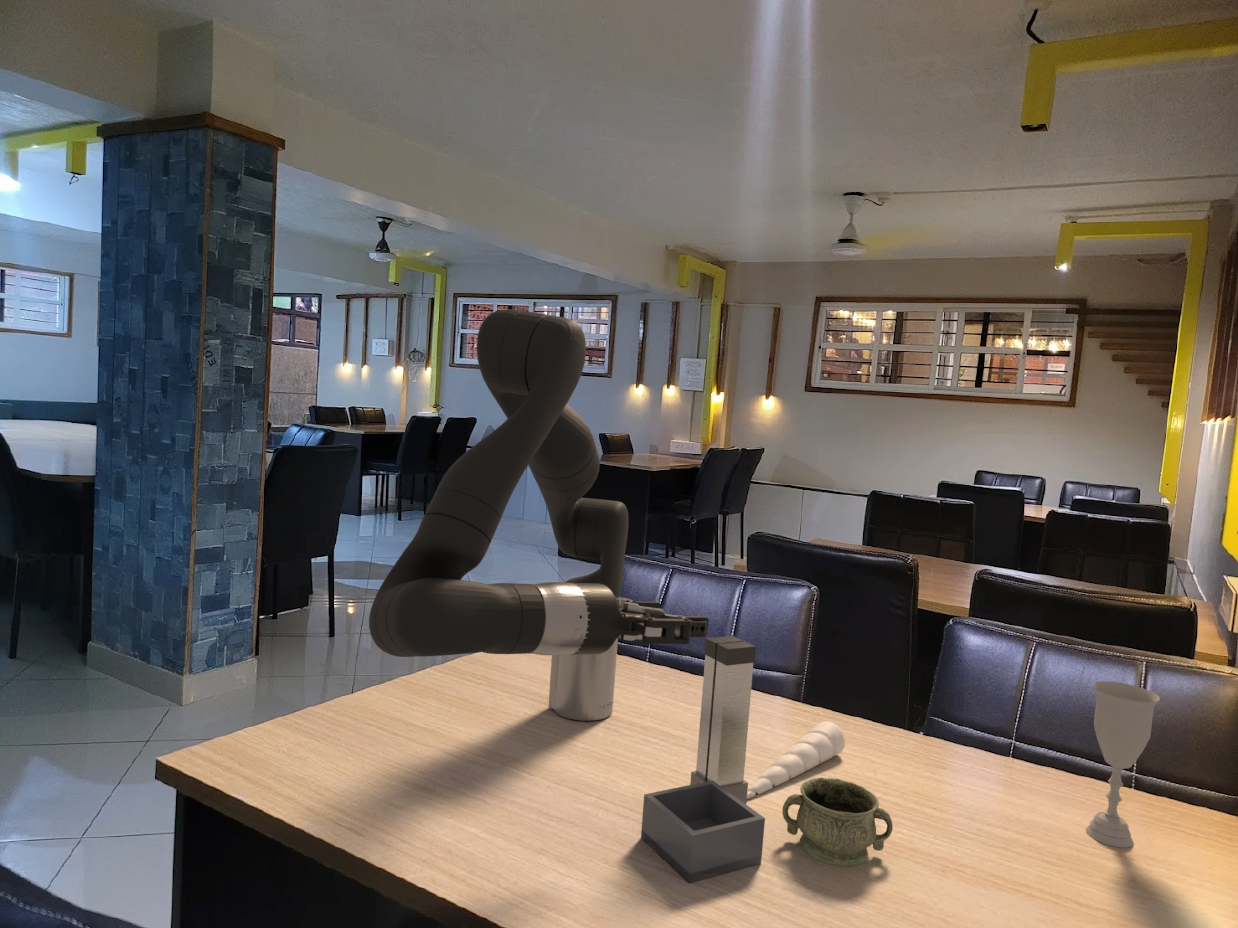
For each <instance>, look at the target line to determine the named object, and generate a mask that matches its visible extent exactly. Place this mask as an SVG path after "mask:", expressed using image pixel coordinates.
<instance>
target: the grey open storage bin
mask: <svg viewBox="0 0 1238 928" xmlns="http://www.w3.org/2000/svg"><path fill="white" fill-rule="evenodd" d="M642 806H643V807H642V817H641V818H642V819H641V821H642V822H641V832H640V838H641V840H642V841H644V842H645V843H646V844H647V845H648V846H649V847H650V848H651V849H652V850H653V851H654V852H655V853H656V854H658V856H660V858H661V859H663V861H665V862H666V863H667V864H668V865H669V866H670V867H671V868H672V869H674V871H676V873H678V874H679V876H680V877H682V878H683V880H685V881H686V882H687V883H688V884H690V883H691V884H692V883H695V882H698V881H702V880H706V879H709V878H713V877H716V876H721V875H724V874H727V873H731V872H734V871H738V870H741V869H747V868H749V867H752V866H756V865H760V864H762V857H763V845H764V833H765V821H766V818H765V817H764V816H763V815H762V814H760V813H759V812H757V811H756V810H754V809H753V808H752V807H750V806H749V805H748V804H747V803H746V804H745V803H743V802H742V801H741V800H739V799H738V798H736V797H735V796H734V795H732V794H731V793H730V792H728V791H727V790H725V789H724V788H723V787H721V786H720V785H718V784H717V783H716V782H714V781H713V780H712V781H707V782H702V783H697V784H693V785H690V784H688V785H683V786H679V787H673V788H669V789H665V790H664V789H663V790H659V791H655V792H654V791H653V792H648V793H644V794H643V805H642Z"/></svg>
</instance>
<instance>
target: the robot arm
mask: <svg viewBox="0 0 1238 928" xmlns="http://www.w3.org/2000/svg"><path fill="white" fill-rule="evenodd" d="M586 345H587V343H586V336H585V332H584V331H583V328H582V327H581V325H580V324H579V323H578V322H577V321H574V320H573V319H570V318H566V317H563V316H558V315H552V314H546V313H545V314H544V313H539V312H533V311H528V310H527V311H526V310H522V309H521V310H520V309H512V308H511V309H508V308H506V309H498V310H495V311H493V312H491V313H489V315H487V316H486V317H485V318H484V320H483V321H482V322H481V325H480V327H479V330H478V332H477V339H476V357H477V363H478V367H479V370H480V373H481V377H482V380H483V381H484V383H485V385H486V387H487V388H488V391H489V392H490V394H491V395H492V397H493V398H494V400H495V401H496V403H497V405H498V406H499V408H500V409H501V411H503V414H504V415H505V417H506V418H507V419H506V420H505V421H504V422H503V423H501V425H500V426H498V427H497V428H495V430H493V431H492V432H491V433H490V434H488V435H487V436H485V437H484V438H483V439H481V440H480V441H478V442H477V443H476V444H474V445H473V446H472V447H471V448H469V449H468V450H467V451H465V452H464V453H463V454H462V455H461V456H460V457H458V458H457V459H456V461H454V463H452V465H451V466H450V467H449V468H448V470H447V471H446V472H445V473H444V475H443V477H442V479H441V480H440V482H439V484H438V486H437V488H436V490H435V492H434V494H433V496H432V498H431V500H430V501H429V502H430V503H429V504H428V507H427V508H426V511H425V512H424V515H423V517H422V519H421V522H420V525H419V527H418V530H417V531H416V533H415V535H414V537H413V538H412V540H411V541H410V542H409V544H407V547H406V548H405V549H404V550H403V552H402V553H401V554H400V556H399V557H398V559H397V561H396V562H395V564H394V565H393V567H392V568H391V569H390V571H389V573H388V574H387V575H386V577H385V579H384V580H383V582H382V584H381V585H380V588H378V591H377V593H376V594H375V597H374V600H373V601H372V605H371V607H370V612H369V618H368V627H369V633H370V635H371V639H372V640H373V642H374V644H375V645H376V646H377V647H378V649H380V650H381V651H382V652H383V653H386V654H388V655H391V656H393V657H401V658H413V657H414V658H415V657H423V658H424V657H425V658H426V657H440V656H442V657H443V656H452V655H466V654H474V653H475V654H476V653H485V654H491V655H492V654H493V655H526V654H530V655H533V654H534V655H538V656H551V664H550V676H549V677H550V679H549V692H548V693H549V694H548V704H547V705H548V709H551V710H553V711H554V712H555V713H556V714H557V715H559V716H561V717H563V718H565V719H570V720H575V721H584V722H585V721H586V722H589V721H599V720H603V719H606V718H608V717H610V716H611V715H612V713H613V709H614V708H613V706H614V701H615V700H614V697H615V696H614V695H615V694H614V693H615V685H616V684H615V683H616V670H617V667H616V666H617V656H618V655H617V654H618V643H619V641H618V640H624V641H635V640H641V642H642V643H643V644H645V645H659V644H660V645H663V644H664V645H678V644H679V645H686V644H687V645H689V644H690V642H691V641H690V640H691V638H706V636H707V635H708V630H709V629H708V628H709V622H710V621H709V618H708V617H706V616H703V615H701V616H700V615H692V616H691V615H682V614H677V615H675V614H669V613H666V612H665V610H663V609H662V604H661V603H660V602H657V601H637V600H636V601H634V600H632V599H631V598H627V597H622V588H623V575H624V565H625V557H626V556H625V554H626V548H627V542H628V533H629V511H628V508H627V506H626V504H625V503H623V502H621V501H619V500H608V499H600V498H599V499H598V498H589V497H583V496H585V495H586V494H587V493H588V492H589V491H590V489H591V488H592V487H593V485H594V484H595V481H596V480H597V478H598V474H599V472H600V456H599V452H598V449H597V446H596V442H595V439H594V435H593V433H592V431H591V428H590V427H589V425H588V424H587V423H586V422H585V419H583V418H582V416H580V415H579V413H578V412H576V410H574V408H572V407H571V406H570V405H568V403H569V401H570V400H571V397H572V395H573V394H574V391H575V390H576V388H577V387H578V383H579V381H580V379H581V376H582V373H583V371H584V366H585V362H586V353H587V346H586ZM528 467H529V470H530V471H531V474H532V476H533V478H534V481H535V482H536V484H537V486H538V488H539V490H540V492H541V495H542V497H543V500H544V503H545V505H546V506H545V507H546V508H547V512H548V515H549V520H550V524H551V527H552V531H553V535H554V537H555V541H556V544H557V546H558V548H559V550H560V551H561V552H562V553H563V554H564V555H567V556H570V557H574V558H581V559H589V560H598V561H599V560H600V566H599V568H598V569H597V570H595V571H592V573H588V574H586V575H583V576H577V577H573V578H570V579H568V580H566V581H563V582H562V581H561V582H559V581H544V582H537V583H517V582H515V583H514V582H513V583H510V582H509V583H508V582H496V583H495V582H494V583H483V582H479V581H471V580H466V579H465V580H464V579H463V578H464V577H465V576H466V575H467V574H468V573H469V572H471V571H472V570H474V569H476V568H477V567H478V566H479V565H480V564H481V562H482V561H483V559H484V558H485V556H486V554H487V552H488V549H489V547H490V545H491V542H492V541H493V538H494V536H495V533H496V532H497V529H498V526H499V524H500V521H501V520H502V517H503V514H504V513H505V510H506V507H507V506H508V503H509V501H510V499H511V497H512V494H513V492H514V491H515V489H516V487H517V486H518V483H519V481H520V479H521V478H522V476H523V474H524V473H525V471H526V469H528Z"/></svg>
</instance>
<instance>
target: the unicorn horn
mask: <svg viewBox="0 0 1238 928" xmlns="http://www.w3.org/2000/svg"><path fill="white" fill-rule="evenodd" d="M845 740H846V739H845V736H844V733H843V731H842V729H841V728H840V727H839V726H838V725H836V724H835V723H834V722H831V721H821V722H819V723H818V724H816V725H814V726H813V727H812V728H811V729H810V730H809V731H808V732H807V733H805V735H804V736H802V737H801V738H799V740H798V741H796V742H795V743H794V744H793V745H792V746H791V747H790V748H788V750H786V751H785V752H784V753H783V754H782V755H781V756H780V757H779V758H777V759H776V760H775V761H774V762H773V763H772V764H771V765H770V766H769V767H768V768H767V769H765V771H763V773H761V774H760V775H759V776H758V778H757V779H756V780H755V781H754V782H753V783H752V784H750V786H748V790H747V800H748V799H752V798H754V797H756V796H757V795H758V796H759V795H762V794H763V793H765V792H767V791H769V790H771V789H774V788H775V787H777V786H780V785H782V784H784V783H785V782H787V781H788V782H789V780H792V779H795V778H796V777H797V776H799V775H801V774H803V773H805V772H807V771H808V770H811V769H813V768H815V767H816V766H818V765H820V764H822V763H824V762H826V761H828V760H830V759H831V758H833V757H836V756H837V755H839V754H841V753H842V752H843V750H844V748H845V745H846V744H845V742H846V741H845Z"/></svg>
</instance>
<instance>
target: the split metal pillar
mask: <svg viewBox="0 0 1238 928" xmlns="http://www.w3.org/2000/svg"><path fill="white" fill-rule="evenodd" d="M756 651H757V646H756V645H753V644H751V643H749V642H748V641H745V640H744V639H741V638H739V637H736V636H735V635H726V636H717V637H716V636H715V637H705V643H704V655H705V656H704V665H703V666H704V668H703V681H702V694H701V705H700V706H701V707H700V717H699V718H700V719H699V731H698V732H699V733H698V742H697V753H696V765H695V766H696V767H695V768H696V769H695V770H694V771H691V772H690V783H689V785H693V784H697V783H702V782H707V781H712V780H713V781H714V782H716V783H717V784H718V785H720V786H721V787H723V788H724V789H725V790H727V791H728V792H730V793H731V794H732V795H734V796H735V797H736V798H738V799H739V800H741V801H742V802H743V803H745V804H746V805H747V800H748V799H747V790H748V788H749V782H748V781H747V780H745V779H744V778H745V777H744V776H745V767H746V754H747V742H748V732H749V719H750V708H751V707H750V706H751V695H752V684H753V673H754V664H755V662H756Z"/></svg>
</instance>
